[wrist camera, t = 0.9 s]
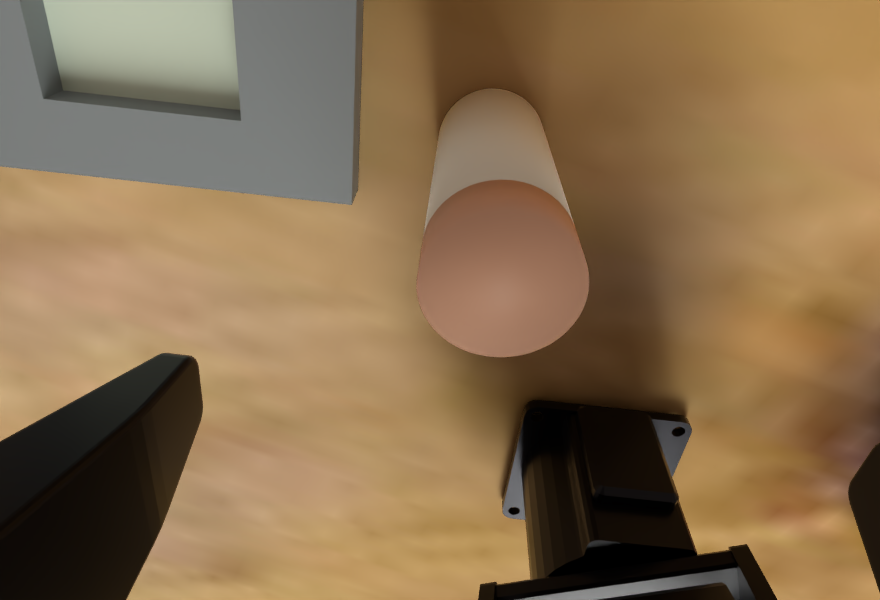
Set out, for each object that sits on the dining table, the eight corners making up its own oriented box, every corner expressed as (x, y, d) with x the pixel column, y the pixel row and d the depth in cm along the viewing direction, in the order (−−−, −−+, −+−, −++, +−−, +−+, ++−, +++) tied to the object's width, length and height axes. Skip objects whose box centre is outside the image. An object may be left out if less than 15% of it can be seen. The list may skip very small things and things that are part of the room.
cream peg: (533, 197, 20) (569, 364, 12) (433, 186, 20) (410, 348, 12) (553, 94, 18) (608, 220, 11) (443, 82, 18) (423, 199, 11)
